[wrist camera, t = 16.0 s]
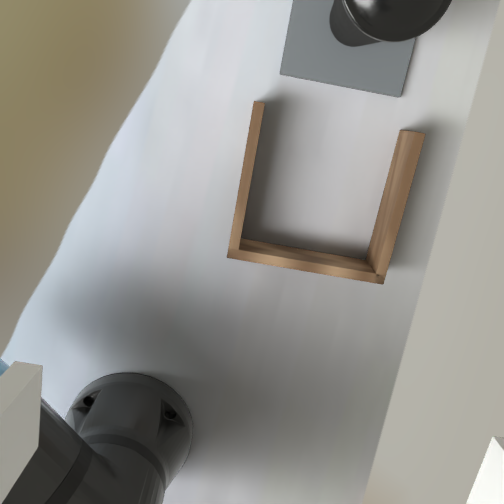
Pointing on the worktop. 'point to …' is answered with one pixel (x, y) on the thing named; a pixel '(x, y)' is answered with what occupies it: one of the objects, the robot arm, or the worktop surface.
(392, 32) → the drinking cup
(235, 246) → the open wooden frame
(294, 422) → the worktop surface
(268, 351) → the worktop surface
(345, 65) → the mat
